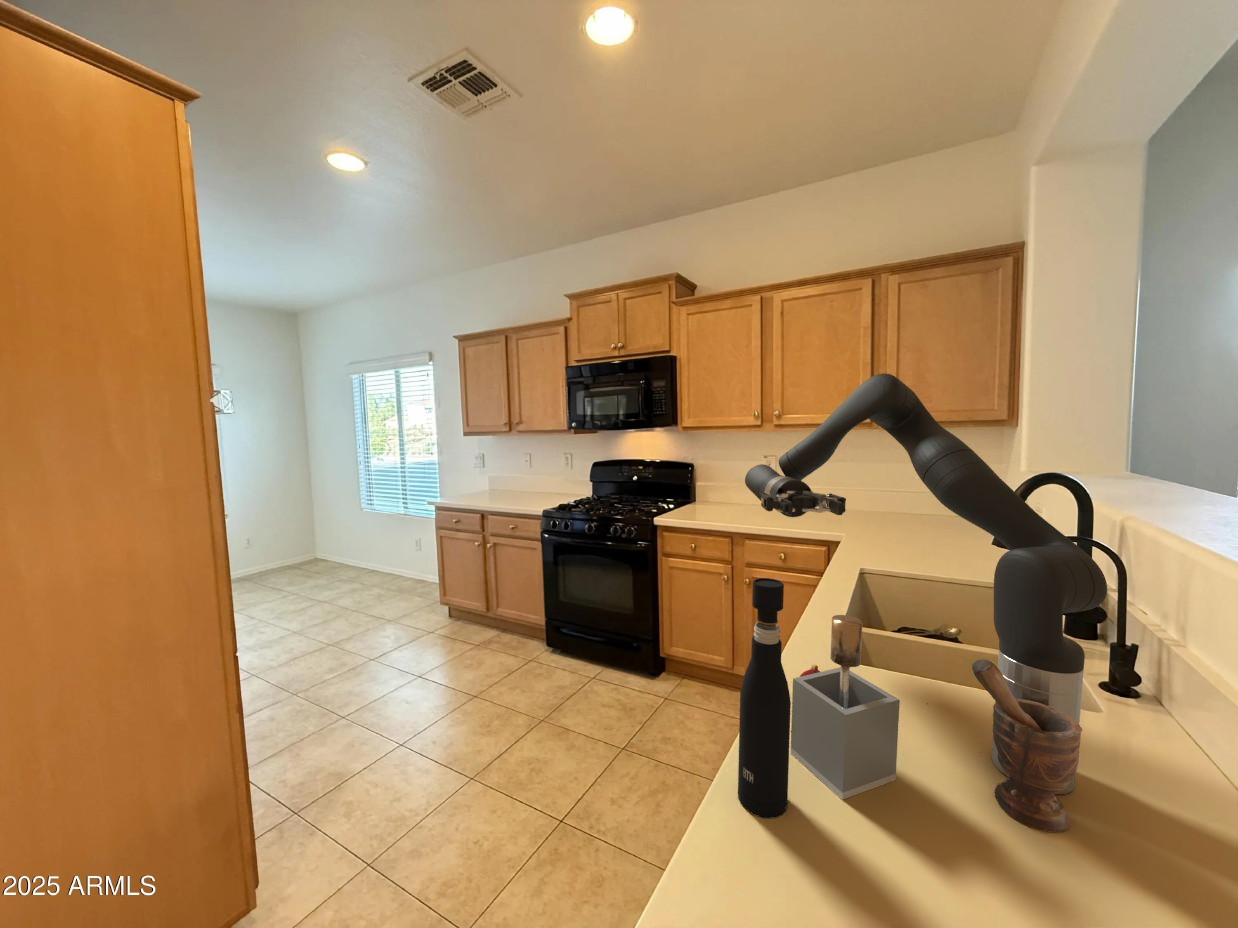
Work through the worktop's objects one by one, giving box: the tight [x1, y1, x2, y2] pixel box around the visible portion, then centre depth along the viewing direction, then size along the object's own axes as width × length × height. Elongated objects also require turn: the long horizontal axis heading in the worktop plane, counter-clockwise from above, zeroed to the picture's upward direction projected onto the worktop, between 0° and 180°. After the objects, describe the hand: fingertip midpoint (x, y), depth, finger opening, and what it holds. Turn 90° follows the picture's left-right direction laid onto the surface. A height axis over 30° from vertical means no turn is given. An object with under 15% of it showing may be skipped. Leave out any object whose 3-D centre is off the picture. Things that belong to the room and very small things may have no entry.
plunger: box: [829, 614, 863, 709], centre depth 71 cm, size 7×7×19 cm
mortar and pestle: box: [971, 658, 1083, 833], centre depth 63 cm, size 12×9×20 cm
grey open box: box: [790, 666, 901, 800], centre depth 71 cm, size 10×10×12 cm
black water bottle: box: [737, 577, 792, 819], centre depth 64 cm, size 6×6×30 cm
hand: (815, 509), depth 84 cm, fingers open, 8 cm apart
